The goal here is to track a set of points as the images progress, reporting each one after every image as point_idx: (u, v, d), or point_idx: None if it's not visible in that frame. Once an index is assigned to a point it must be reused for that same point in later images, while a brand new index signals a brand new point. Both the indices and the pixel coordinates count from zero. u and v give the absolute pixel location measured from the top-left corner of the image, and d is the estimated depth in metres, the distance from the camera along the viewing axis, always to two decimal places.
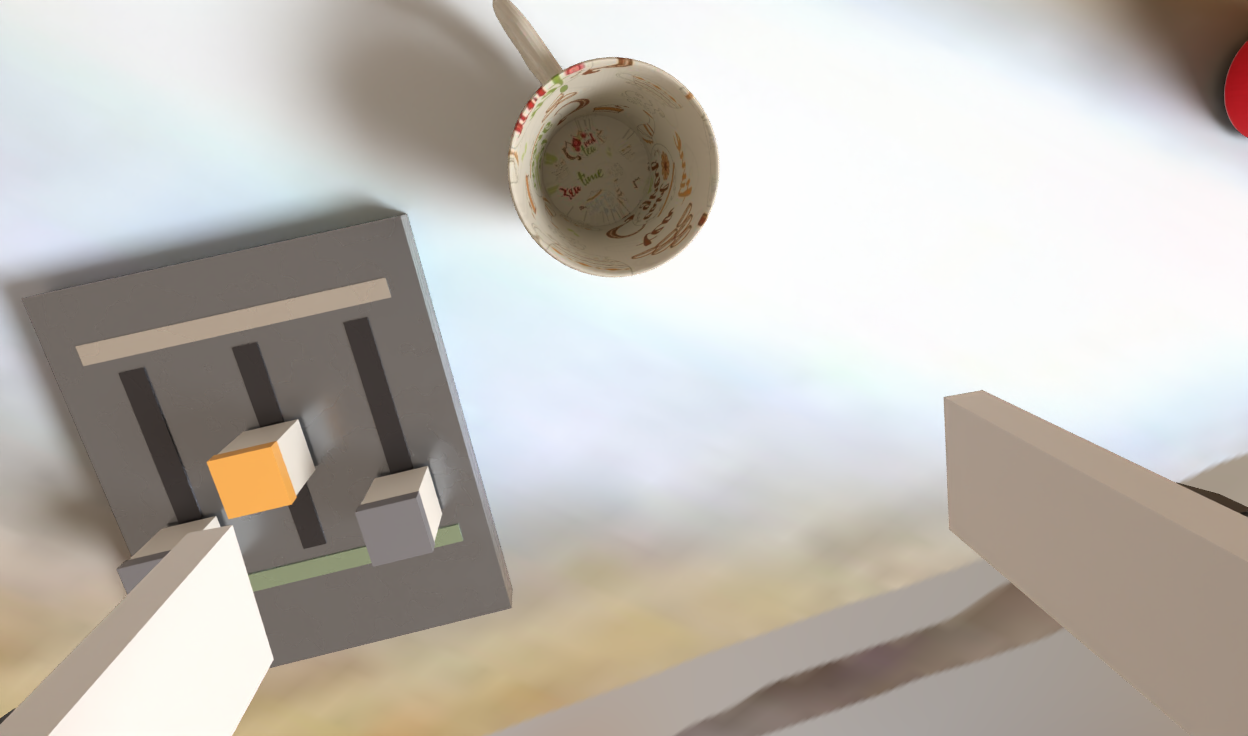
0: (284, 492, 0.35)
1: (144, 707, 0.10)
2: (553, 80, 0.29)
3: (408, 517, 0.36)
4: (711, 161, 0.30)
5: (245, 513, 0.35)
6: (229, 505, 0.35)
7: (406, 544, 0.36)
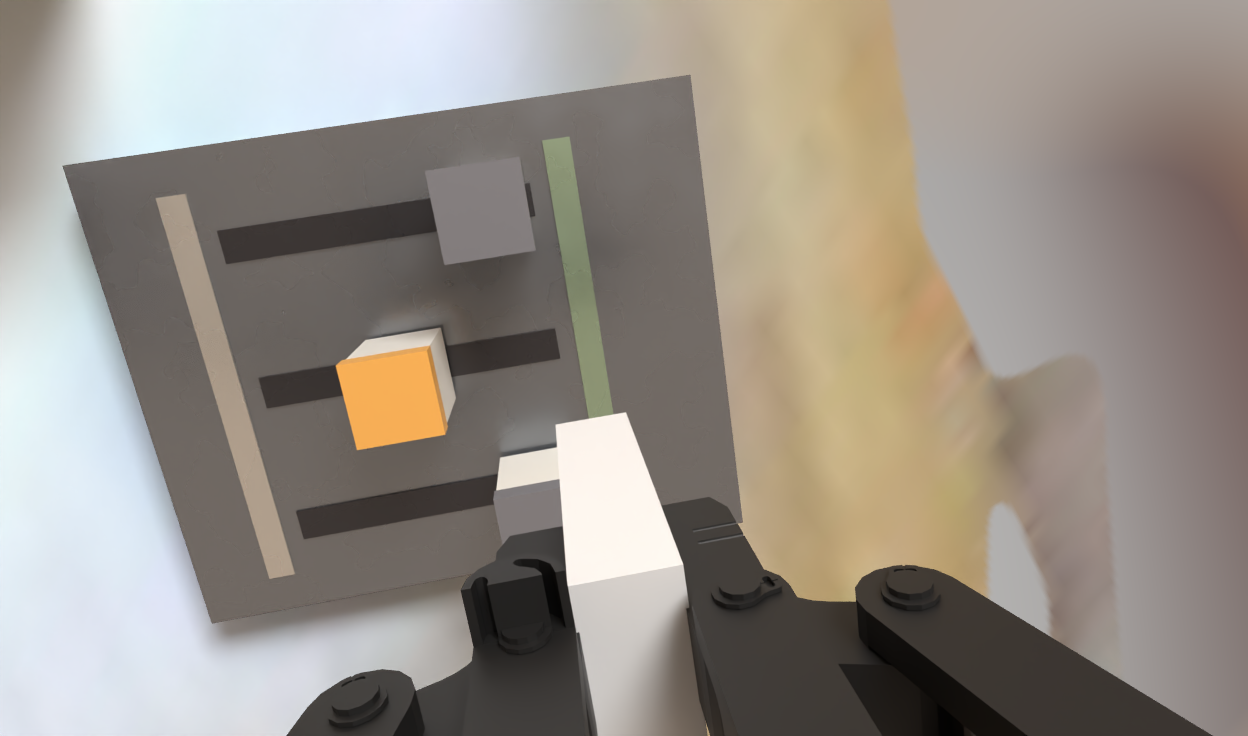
0: (408, 357, 0.25)
1: None
2: None
3: (457, 187, 0.23)
4: None
5: (437, 412, 0.25)
6: (424, 430, 0.25)
7: (502, 196, 0.24)
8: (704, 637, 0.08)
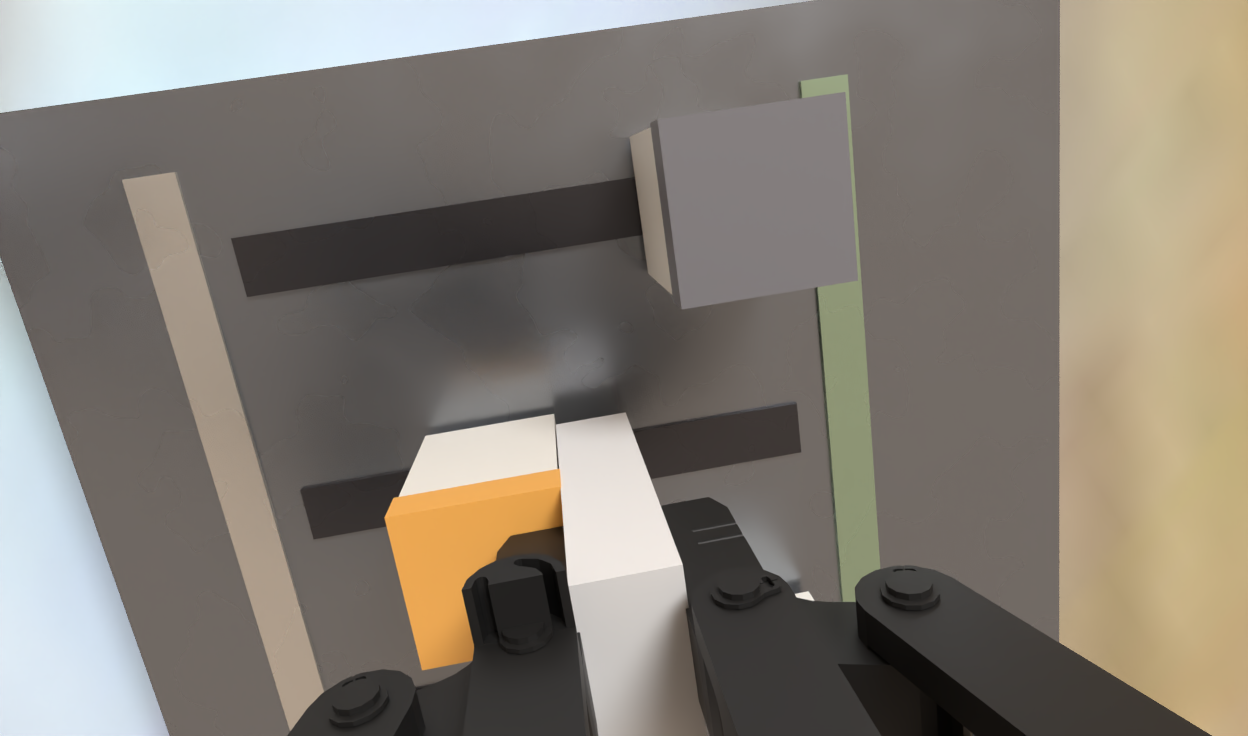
0: (524, 499, 0.13)
1: None
2: None
3: (719, 153, 0.12)
4: None
5: None
6: None
7: (805, 172, 0.12)
8: (703, 637, 0.08)
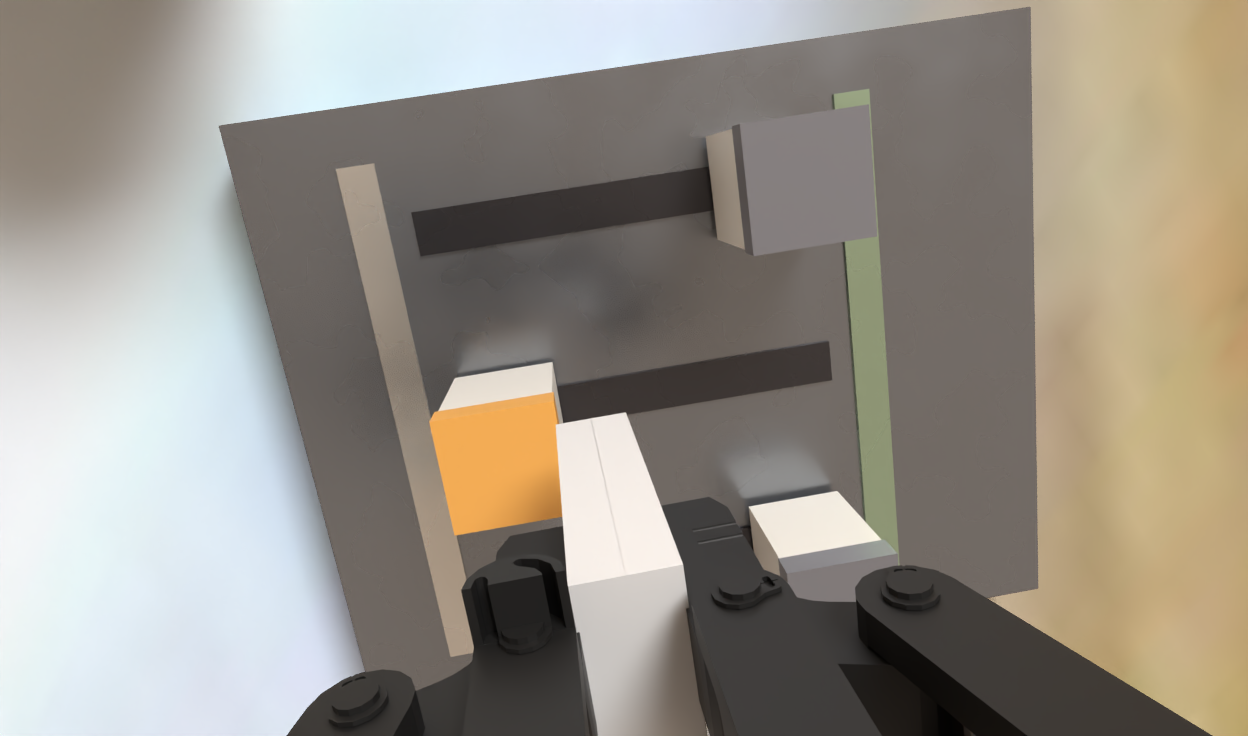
0: (527, 410, 0.18)
1: None
2: None
3: (781, 146, 0.17)
4: None
5: None
6: (545, 509, 0.18)
7: (841, 159, 0.17)
8: (704, 637, 0.08)
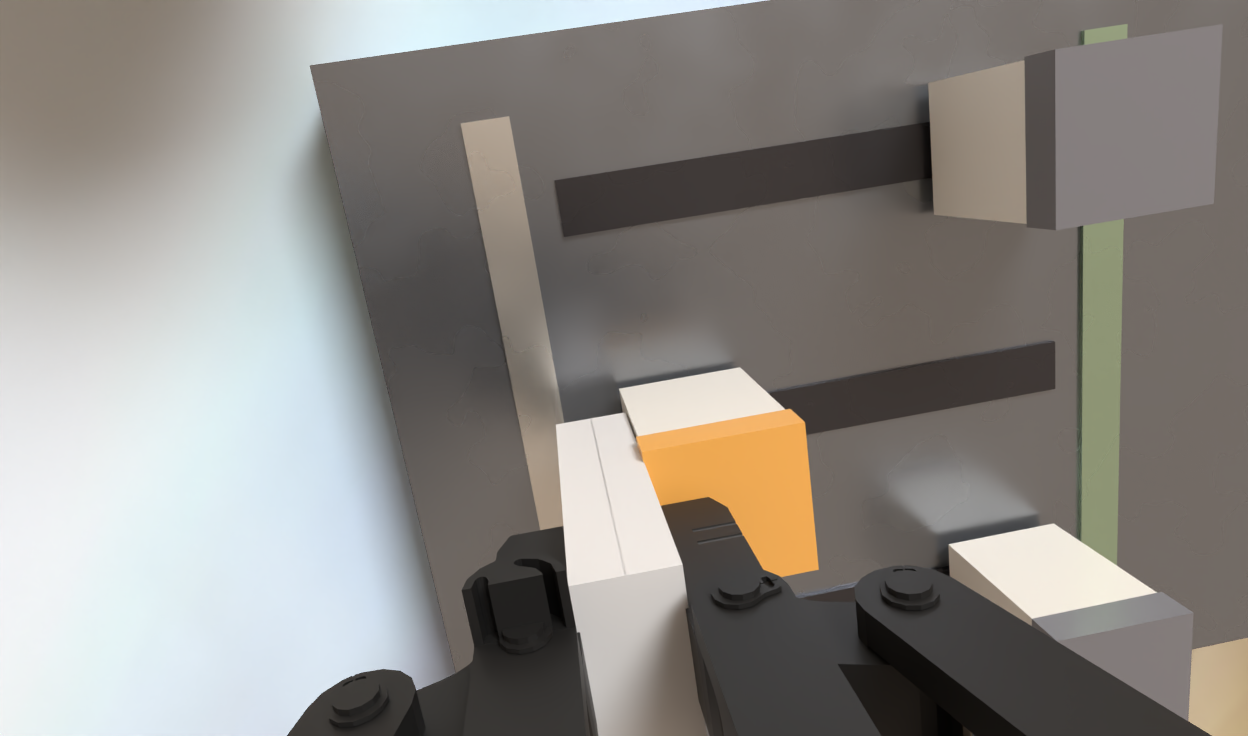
0: (770, 435, 0.13)
1: None
2: None
3: (1105, 81, 0.12)
4: None
5: (810, 531, 0.14)
6: (783, 563, 0.14)
7: (1179, 100, 0.13)
8: (704, 637, 0.08)
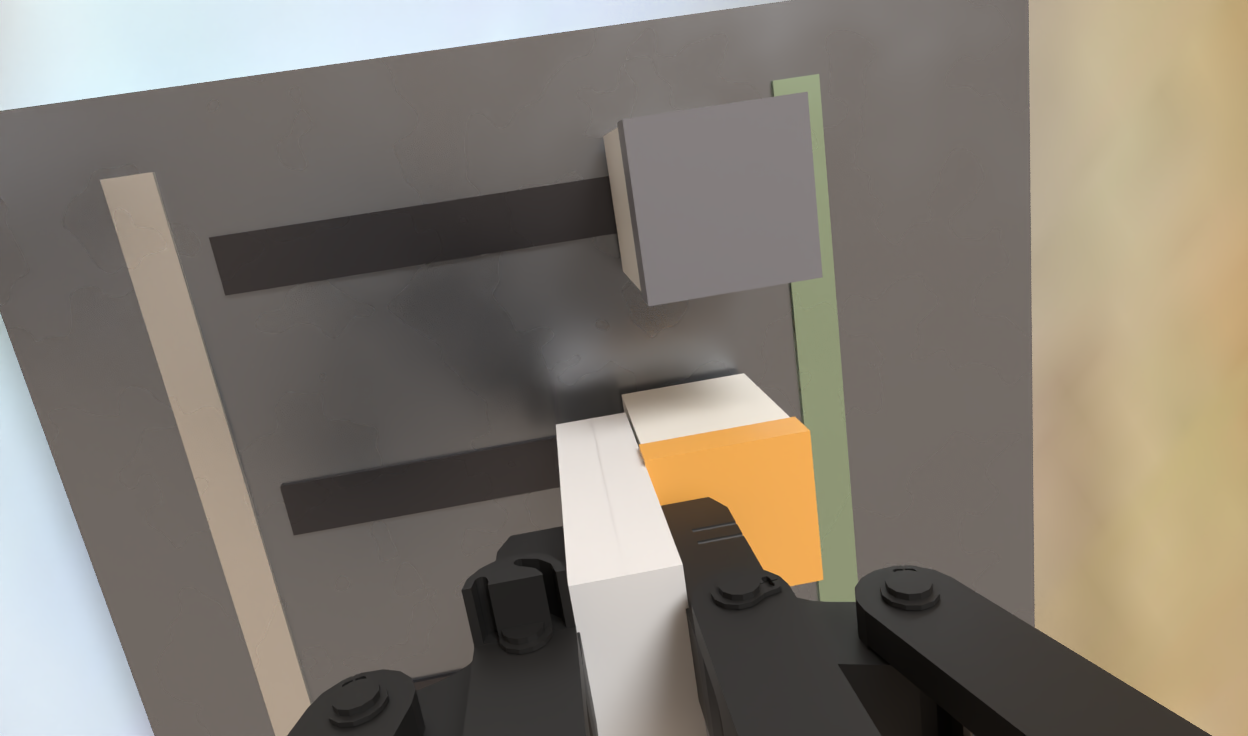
0: (774, 443, 0.13)
1: None
2: None
3: (683, 152, 0.12)
4: None
5: (814, 541, 0.14)
6: (787, 573, 0.14)
7: (769, 170, 0.12)
8: (704, 637, 0.08)
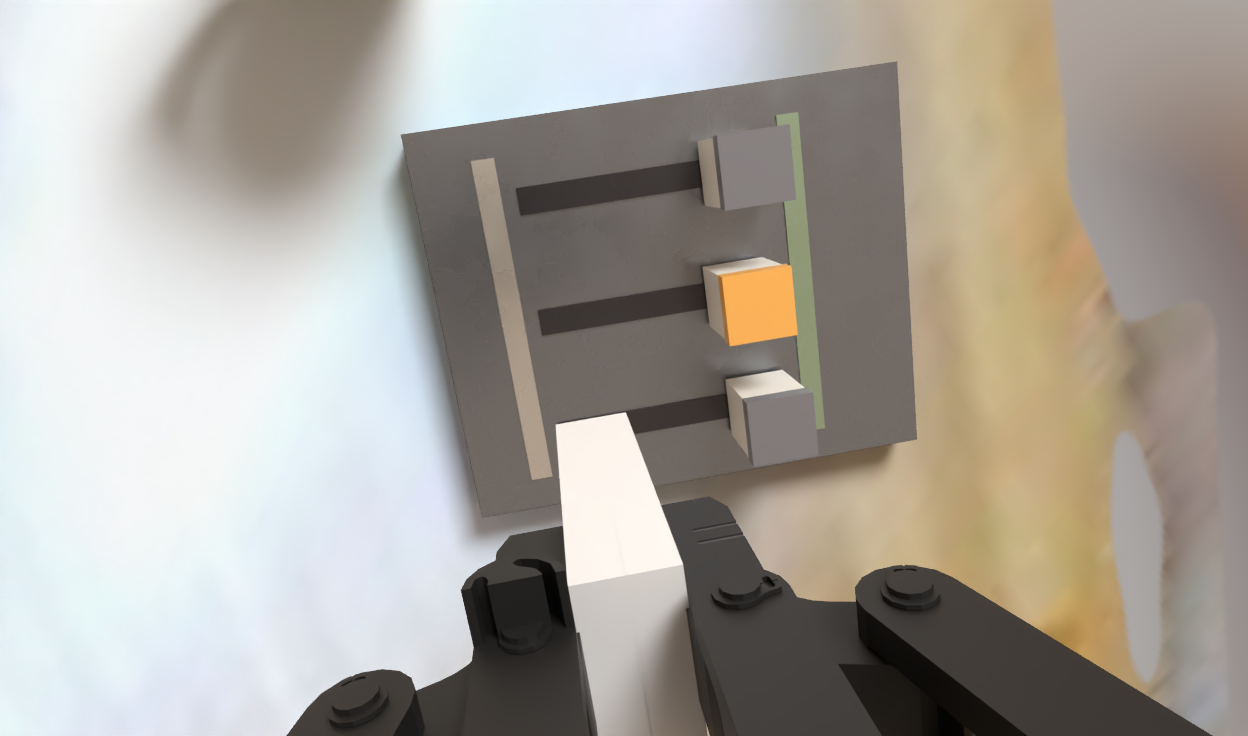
0: (776, 271, 0.31)
1: None
2: None
3: (740, 148, 0.30)
4: None
5: (793, 316, 0.32)
6: (782, 331, 0.32)
7: (774, 155, 0.30)
8: (704, 637, 0.08)
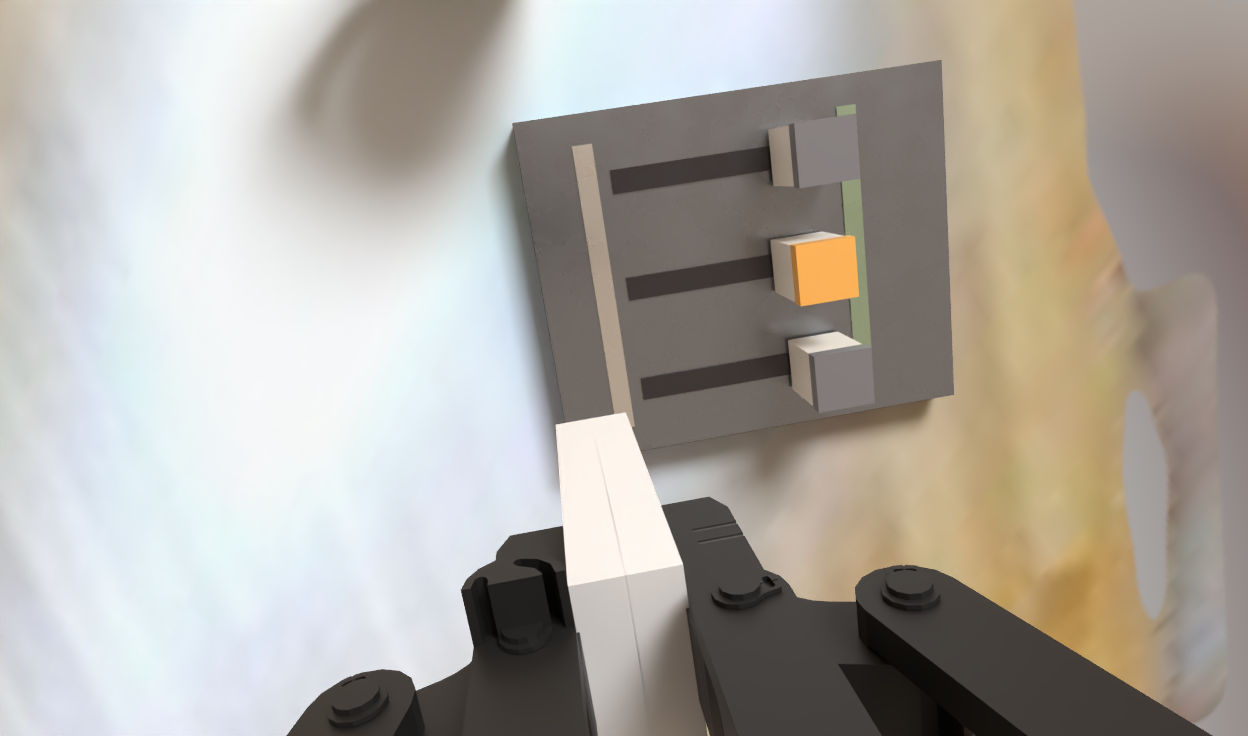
0: (842, 241, 0.36)
1: None
2: None
3: (813, 134, 0.35)
4: None
5: (856, 280, 0.37)
6: (845, 293, 0.37)
7: (842, 140, 0.35)
8: (704, 637, 0.08)
